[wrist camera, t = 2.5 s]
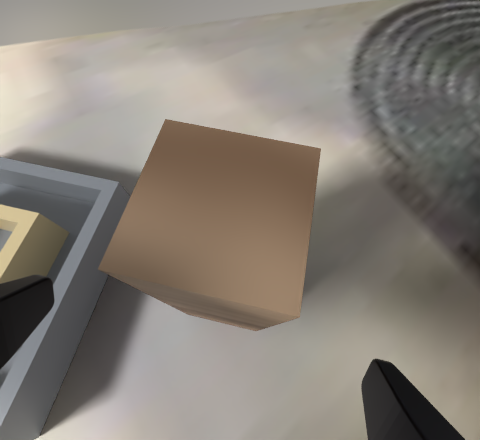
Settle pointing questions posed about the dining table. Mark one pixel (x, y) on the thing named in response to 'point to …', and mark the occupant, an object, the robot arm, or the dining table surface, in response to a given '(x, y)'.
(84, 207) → the housing
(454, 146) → the dining table surface
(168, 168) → the post
